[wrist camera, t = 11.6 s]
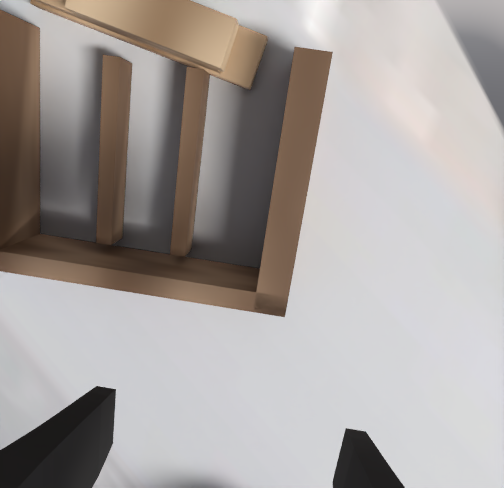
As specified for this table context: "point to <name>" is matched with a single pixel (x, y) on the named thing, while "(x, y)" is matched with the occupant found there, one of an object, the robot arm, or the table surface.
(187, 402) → the table surface
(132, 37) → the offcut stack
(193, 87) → the rack
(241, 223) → the table surface
